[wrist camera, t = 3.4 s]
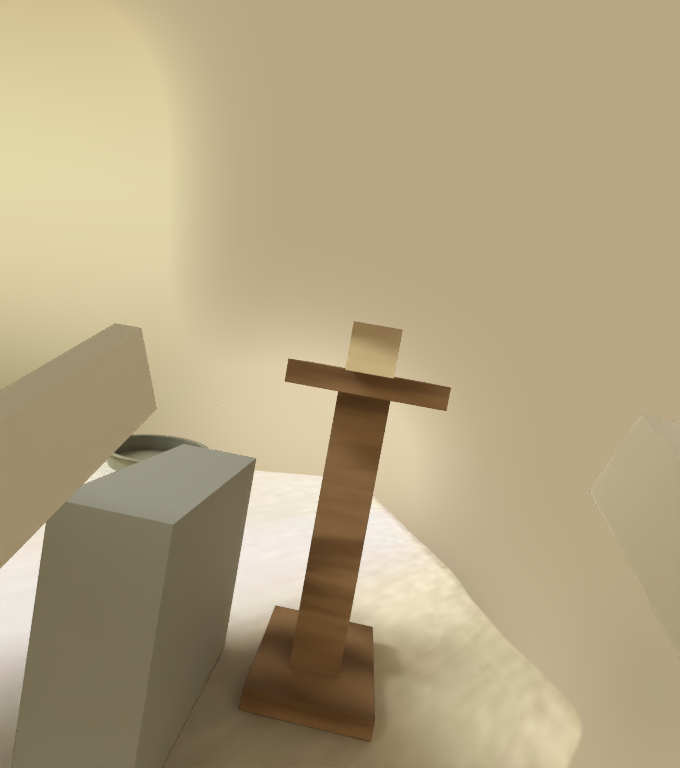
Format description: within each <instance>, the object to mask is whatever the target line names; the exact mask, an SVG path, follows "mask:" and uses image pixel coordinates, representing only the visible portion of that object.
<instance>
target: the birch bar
mask: <svg viewBox="0 0 680 768" xmlns="http://www.w3.org/2000/svg"><path fill="white" fill-rule="evenodd" d="M401 336H402V330H401V329H395V328H390V327H384V326H378V325H372V324H366V323H360V322H354V324H353V330H352V335H351V341H350V347H349V352H348V357H347V363H346V369H345V370H349V371H355V372H360V373H366V374H371V375H377V376H383V377H388V378H394V374H395V369H396V363H397V358H398V352H399V347H400V342H401Z"/></svg>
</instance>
